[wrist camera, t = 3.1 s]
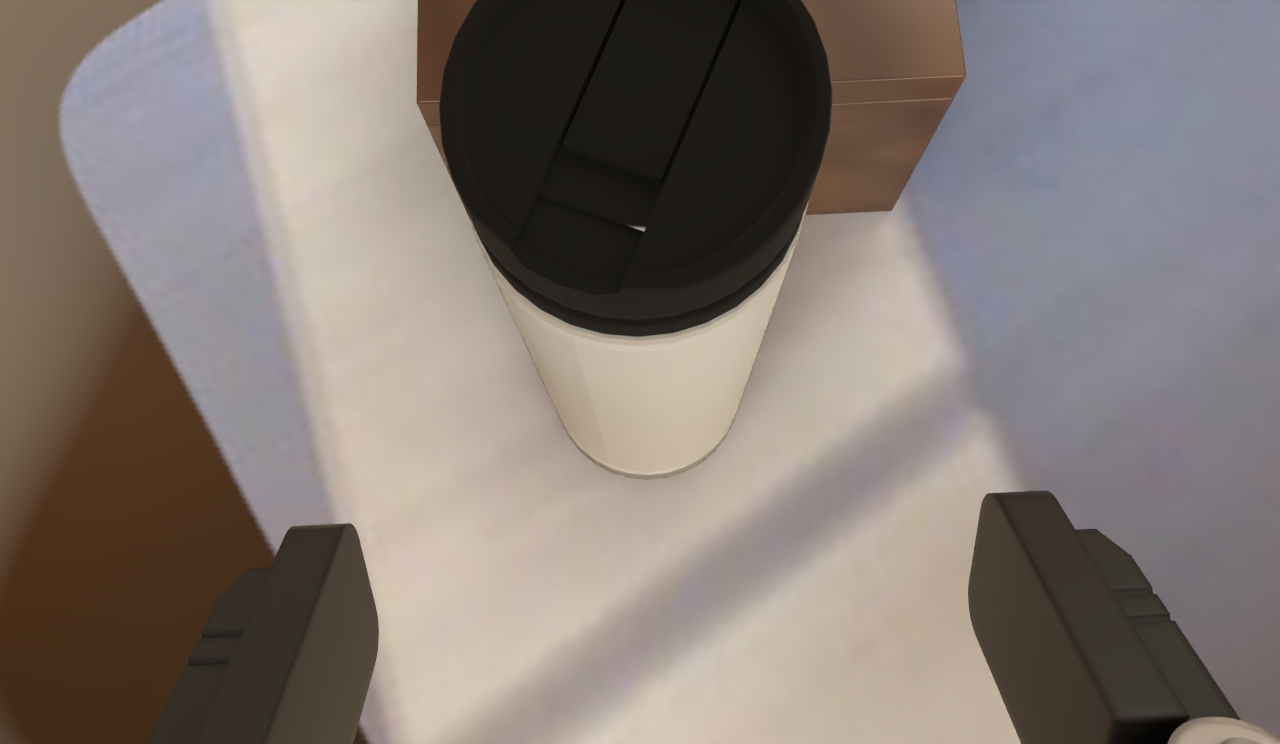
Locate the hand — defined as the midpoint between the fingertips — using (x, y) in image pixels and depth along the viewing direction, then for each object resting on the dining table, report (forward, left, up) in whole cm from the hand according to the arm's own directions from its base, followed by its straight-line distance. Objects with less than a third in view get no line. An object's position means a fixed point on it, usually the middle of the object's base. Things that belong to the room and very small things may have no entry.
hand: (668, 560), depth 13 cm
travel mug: (0, -7, -20) cm, 22 cm away
